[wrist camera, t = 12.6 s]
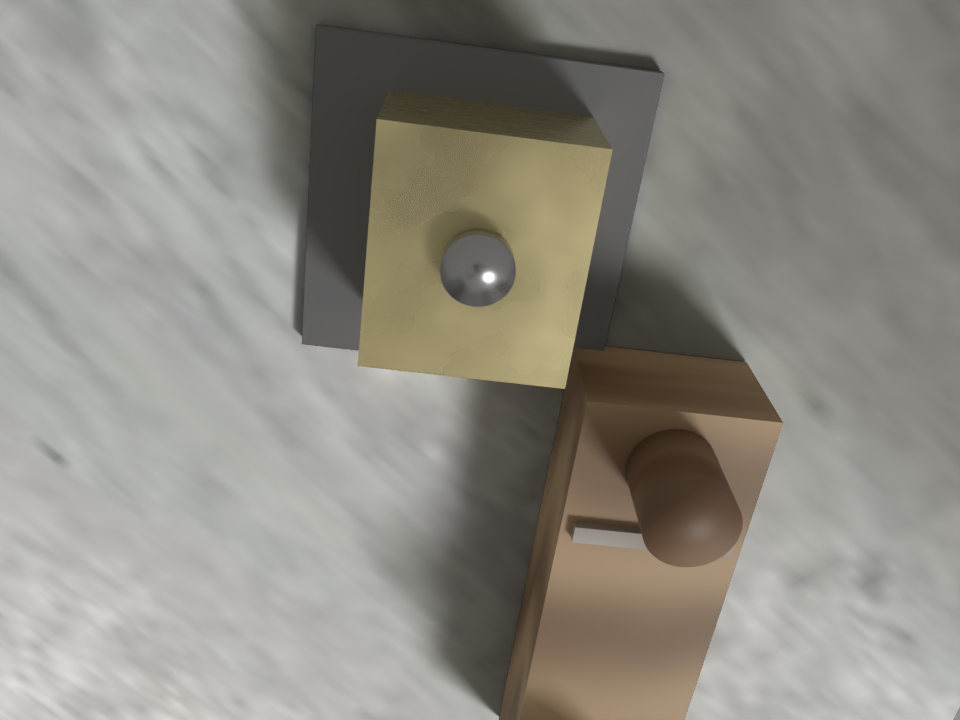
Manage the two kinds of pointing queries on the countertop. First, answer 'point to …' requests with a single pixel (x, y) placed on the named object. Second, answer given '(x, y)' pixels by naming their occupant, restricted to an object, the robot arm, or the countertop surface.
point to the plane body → (637, 534)
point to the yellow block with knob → (479, 238)
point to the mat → (463, 75)
